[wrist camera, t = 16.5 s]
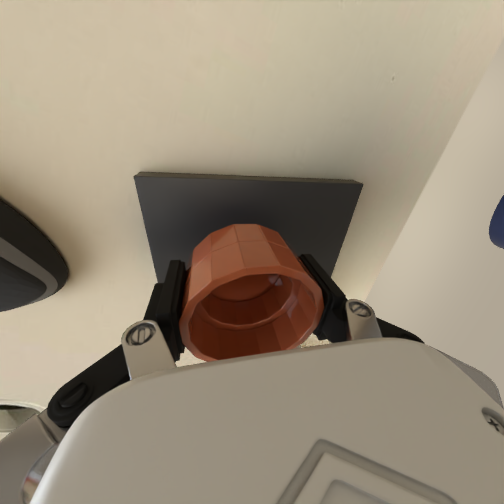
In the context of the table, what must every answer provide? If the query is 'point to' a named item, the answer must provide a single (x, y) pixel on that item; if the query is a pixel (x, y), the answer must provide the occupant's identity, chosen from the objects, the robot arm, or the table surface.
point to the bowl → (246, 295)
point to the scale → (244, 212)
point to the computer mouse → (26, 262)
